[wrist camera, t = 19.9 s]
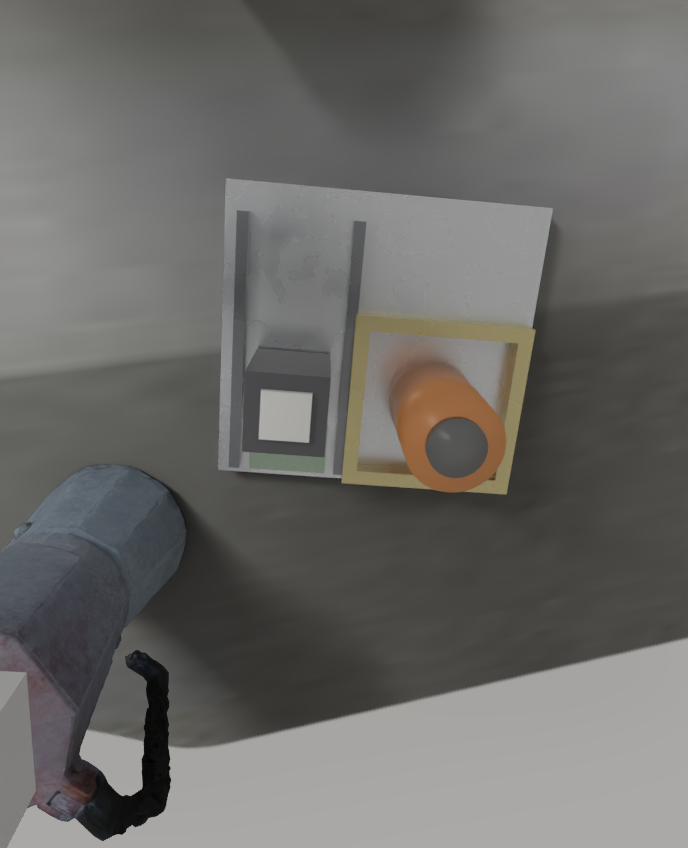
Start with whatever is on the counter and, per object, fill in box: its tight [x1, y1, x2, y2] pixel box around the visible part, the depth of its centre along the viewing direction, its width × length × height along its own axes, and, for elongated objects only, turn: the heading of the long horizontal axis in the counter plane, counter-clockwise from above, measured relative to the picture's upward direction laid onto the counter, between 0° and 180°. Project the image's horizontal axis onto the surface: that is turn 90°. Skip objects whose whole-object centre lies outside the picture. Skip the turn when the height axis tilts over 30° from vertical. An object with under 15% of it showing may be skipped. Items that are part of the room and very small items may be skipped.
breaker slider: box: [242, 348, 331, 457], centre depth 33 cm, size 4×4×6 cm
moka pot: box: [0, 465, 187, 841], centre depth 30 cm, size 10×15×20 cm, turn 56°
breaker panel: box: [218, 178, 553, 495], centre depth 35 cm, size 16×17×3 cm
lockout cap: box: [390, 363, 506, 493], centre depth 33 cm, size 5×5×8 cm
